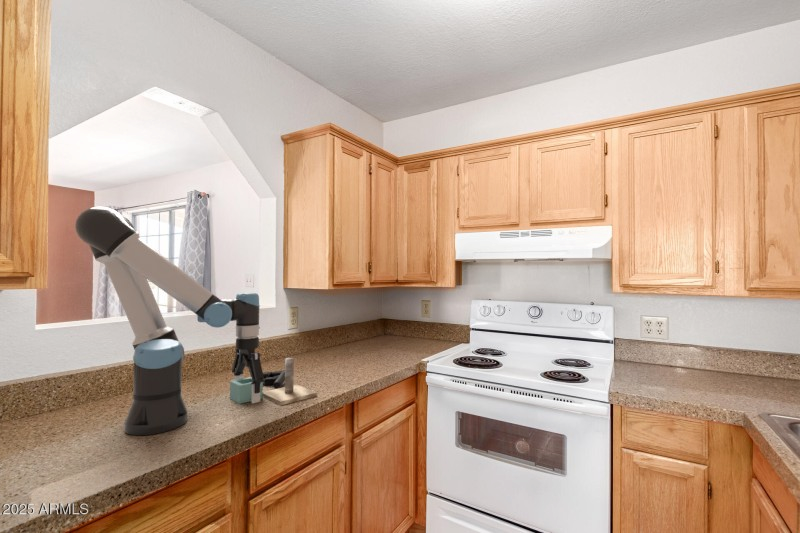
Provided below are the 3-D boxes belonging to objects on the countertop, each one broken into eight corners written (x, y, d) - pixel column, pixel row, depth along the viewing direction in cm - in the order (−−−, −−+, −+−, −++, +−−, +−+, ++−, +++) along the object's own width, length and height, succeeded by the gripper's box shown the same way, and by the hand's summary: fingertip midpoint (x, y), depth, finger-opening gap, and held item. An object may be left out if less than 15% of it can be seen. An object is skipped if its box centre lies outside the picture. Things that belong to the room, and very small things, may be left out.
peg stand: (280, 405, 124) (281, 365, 125) (261, 395, 134) (261, 358, 134) (316, 395, 134) (317, 358, 135) (296, 387, 144) (296, 353, 144)
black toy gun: (239, 384, 140) (283, 381, 142) (253, 371, 160) (292, 368, 162) (239, 393, 140) (284, 389, 142) (253, 379, 160) (292, 376, 162)
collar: (239, 403, 125) (239, 385, 126) (229, 398, 131) (230, 381, 131) (262, 398, 131) (262, 381, 131) (252, 393, 137) (252, 376, 137)
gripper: (274, 339, 126) (274, 403, 125) (242, 332, 143) (242, 388, 142) (253, 342, 120) (252, 409, 120) (222, 334, 138) (221, 392, 137)
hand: (247, 397), depth 131 cm, fingers open, 13 cm apart
